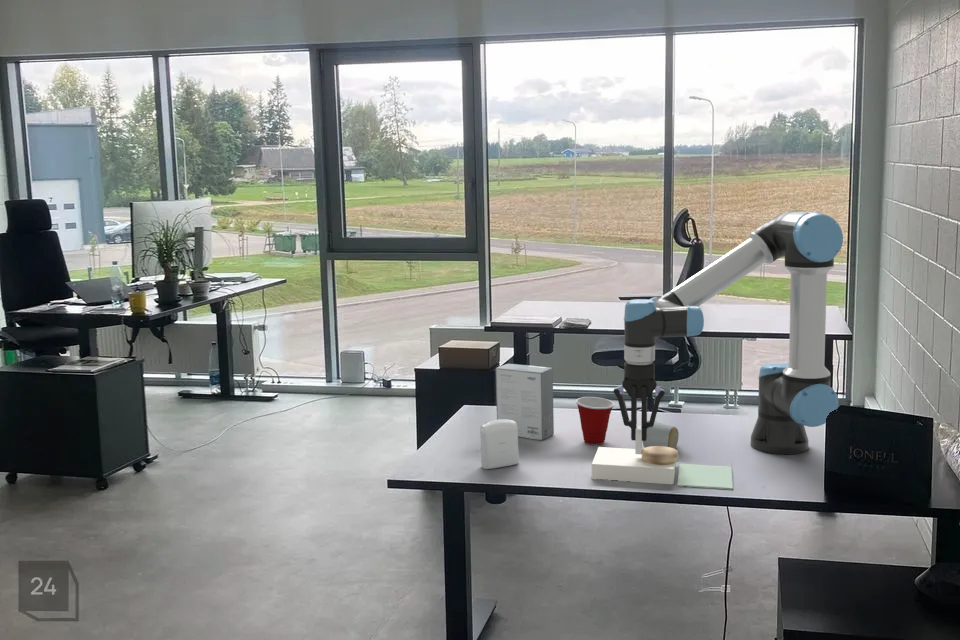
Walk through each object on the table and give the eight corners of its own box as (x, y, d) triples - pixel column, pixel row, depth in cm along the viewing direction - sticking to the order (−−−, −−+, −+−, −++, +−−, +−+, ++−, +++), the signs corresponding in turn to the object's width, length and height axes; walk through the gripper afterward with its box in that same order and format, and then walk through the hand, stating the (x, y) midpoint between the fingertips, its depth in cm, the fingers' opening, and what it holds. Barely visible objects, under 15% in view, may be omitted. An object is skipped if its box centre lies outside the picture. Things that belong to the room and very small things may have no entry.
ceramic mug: (670, 455, 246) (671, 427, 245) (641, 451, 250) (642, 423, 249) (683, 445, 255) (684, 418, 254) (655, 441, 259) (655, 415, 258)
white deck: (675, 466, 237) (675, 451, 237) (673, 484, 224) (673, 468, 223) (598, 461, 242) (598, 446, 242) (591, 479, 229) (591, 463, 228)
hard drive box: (554, 434, 267) (554, 367, 264) (542, 441, 261) (541, 373, 257) (509, 427, 275) (508, 362, 272) (495, 433, 269) (494, 367, 266)
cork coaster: (678, 454, 234) (678, 446, 234) (677, 465, 225) (677, 457, 225) (642, 452, 236) (642, 445, 236) (640, 463, 227) (640, 456, 227)
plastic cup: (610, 449, 252) (610, 407, 250) (572, 446, 256) (571, 404, 254) (617, 437, 262) (617, 397, 260) (580, 434, 266) (580, 394, 264)
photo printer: (484, 470, 237) (484, 424, 235) (478, 466, 241) (477, 420, 239) (521, 465, 241) (520, 419, 239) (514, 460, 245) (513, 415, 242)
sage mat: (731, 468, 235) (731, 466, 235) (732, 489, 220) (732, 488, 219) (679, 464, 238) (679, 463, 238) (677, 486, 223) (677, 484, 223)
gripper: (611, 364, 226) (611, 455, 230) (665, 365, 223) (664, 458, 227) (614, 357, 233) (614, 446, 237) (666, 359, 230) (665, 449, 234)
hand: (638, 452), depth 232 cm, fingers closed
